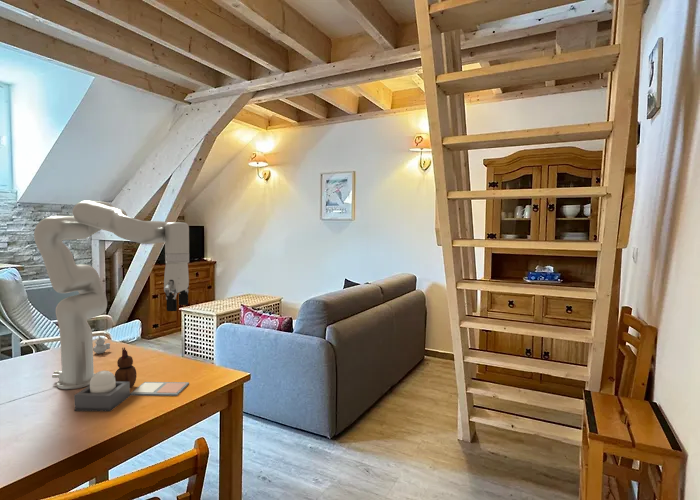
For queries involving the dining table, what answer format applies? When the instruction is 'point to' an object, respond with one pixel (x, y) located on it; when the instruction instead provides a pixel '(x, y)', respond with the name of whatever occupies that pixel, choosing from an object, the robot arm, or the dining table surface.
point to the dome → (102, 382)
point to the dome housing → (102, 398)
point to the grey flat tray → (160, 388)
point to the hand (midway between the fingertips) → (177, 307)
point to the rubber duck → (101, 346)
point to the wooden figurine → (125, 369)
